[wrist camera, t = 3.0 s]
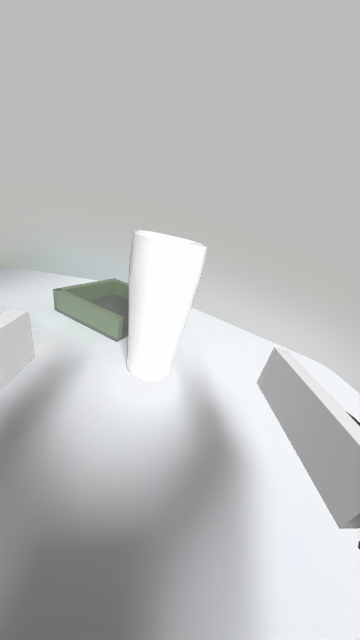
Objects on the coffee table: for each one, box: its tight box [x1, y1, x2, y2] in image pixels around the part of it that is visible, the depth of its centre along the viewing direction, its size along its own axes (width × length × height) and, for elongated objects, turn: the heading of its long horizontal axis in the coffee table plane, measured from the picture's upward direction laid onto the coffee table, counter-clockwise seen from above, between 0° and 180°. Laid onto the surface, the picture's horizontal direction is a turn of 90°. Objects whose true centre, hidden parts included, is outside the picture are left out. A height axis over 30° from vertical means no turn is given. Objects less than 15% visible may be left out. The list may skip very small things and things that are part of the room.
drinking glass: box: [127, 230, 207, 382], centre depth 20 cm, size 7×7×15 cm
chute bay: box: [53, 279, 129, 342], centre depth 34 cm, size 13×13×4 cm
